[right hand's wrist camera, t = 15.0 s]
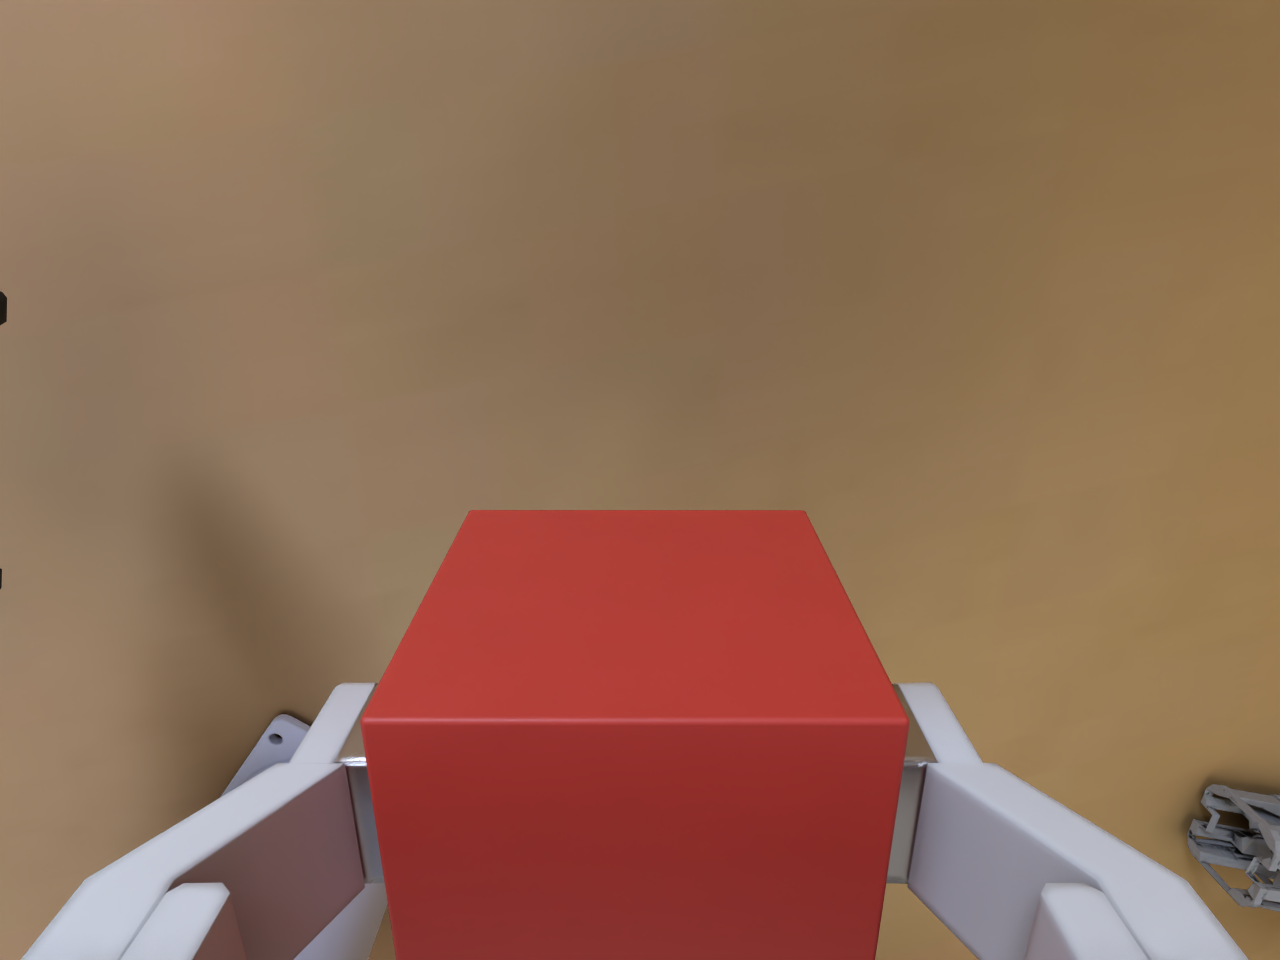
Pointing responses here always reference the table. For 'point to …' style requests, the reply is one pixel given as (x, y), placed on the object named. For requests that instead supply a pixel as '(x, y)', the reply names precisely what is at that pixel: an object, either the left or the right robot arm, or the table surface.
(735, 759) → the cube
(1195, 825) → the toy gun
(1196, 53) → the table surface
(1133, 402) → the table surface
